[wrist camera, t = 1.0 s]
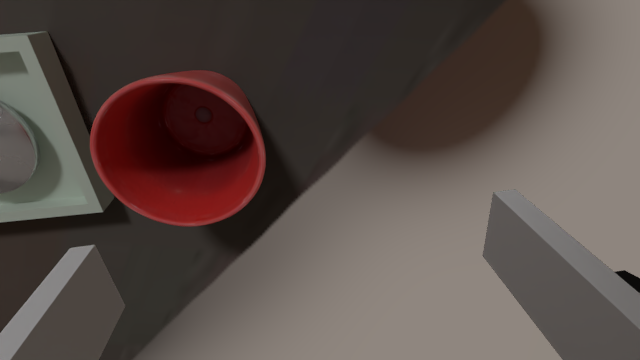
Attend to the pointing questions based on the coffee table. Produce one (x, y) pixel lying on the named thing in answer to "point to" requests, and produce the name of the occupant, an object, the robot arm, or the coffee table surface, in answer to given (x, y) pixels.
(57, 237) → the coffee table surface
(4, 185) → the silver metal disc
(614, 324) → the robot arm
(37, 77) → the pale green square tray
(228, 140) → the flower pot
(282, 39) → the coffee table surface
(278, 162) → the coffee table surface
